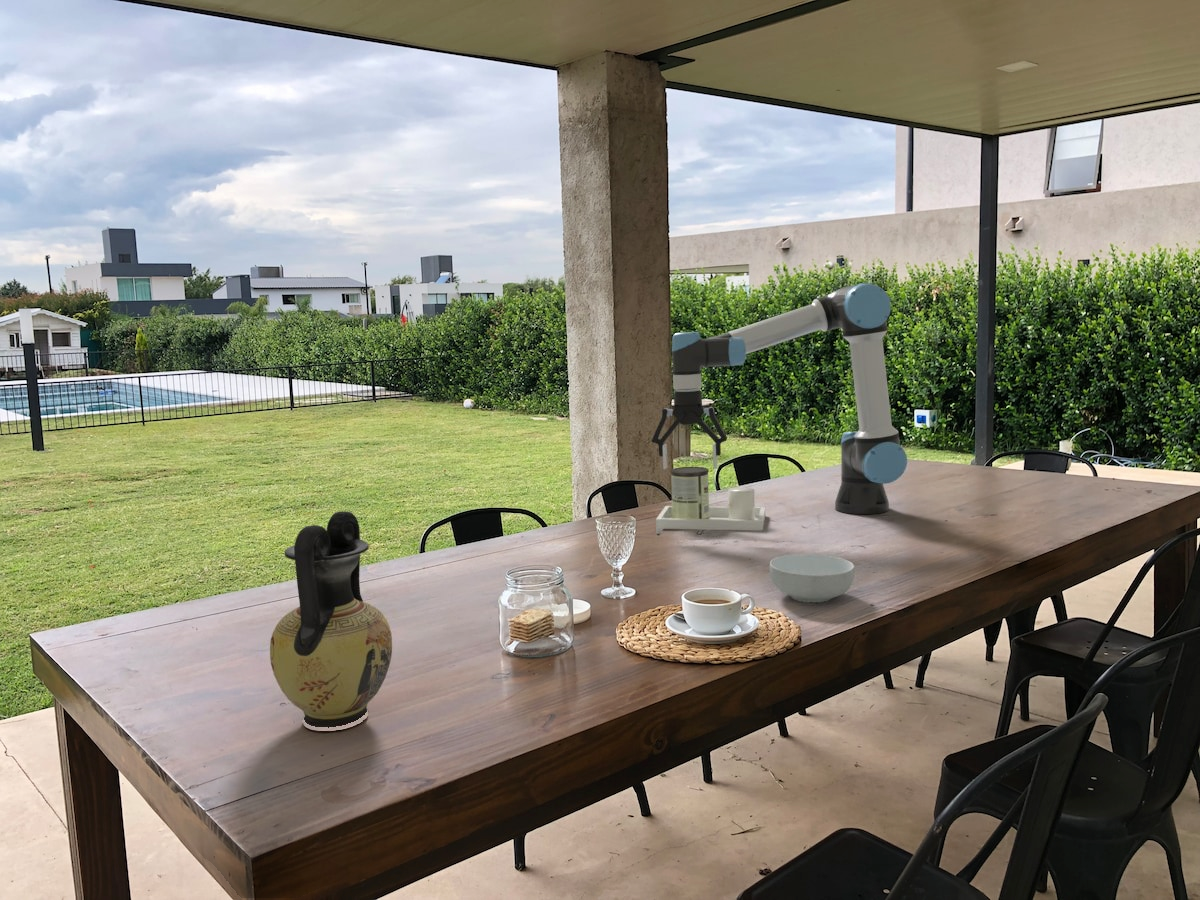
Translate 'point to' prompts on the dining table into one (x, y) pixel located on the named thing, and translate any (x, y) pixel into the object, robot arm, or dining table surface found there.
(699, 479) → the coffee can
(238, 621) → the dining table surface
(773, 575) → the cereal bowl
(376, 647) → the amphora
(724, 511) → the tray
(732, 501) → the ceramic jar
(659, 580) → the dining table surface
